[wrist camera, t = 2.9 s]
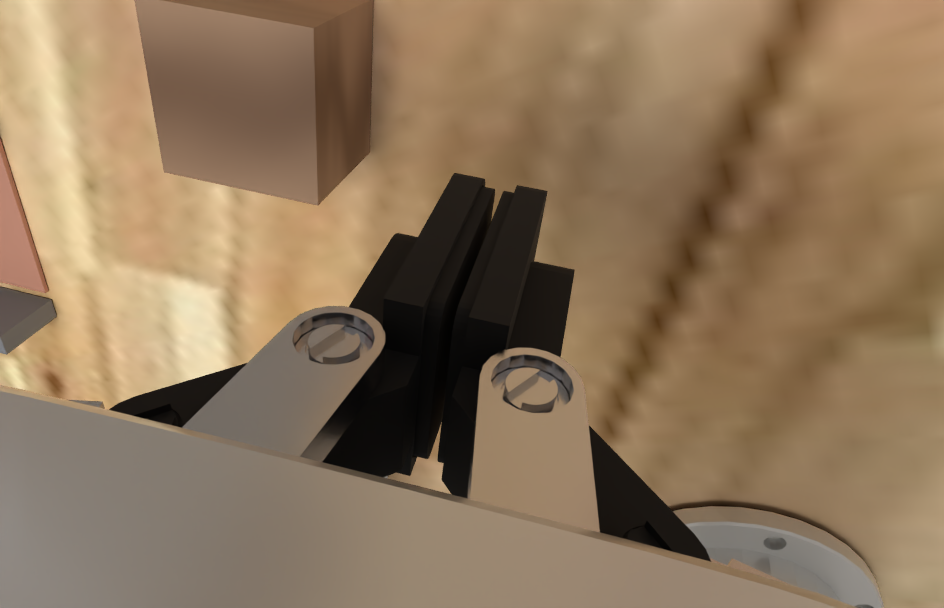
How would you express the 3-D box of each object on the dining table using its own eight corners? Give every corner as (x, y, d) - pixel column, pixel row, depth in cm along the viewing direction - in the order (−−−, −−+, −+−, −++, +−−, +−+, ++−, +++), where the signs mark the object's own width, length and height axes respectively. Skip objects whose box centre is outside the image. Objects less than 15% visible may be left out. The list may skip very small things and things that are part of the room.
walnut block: (370, 151, 23) (318, 205, 19) (239, 124, 24) (164, 172, 20) (374, -3, 20) (313, 28, 17) (224, -29, 21) (133, -5, 17)
